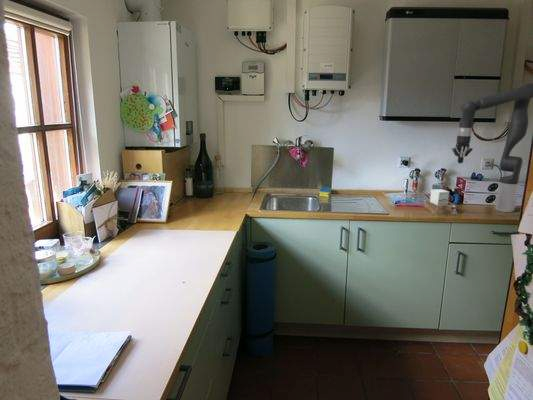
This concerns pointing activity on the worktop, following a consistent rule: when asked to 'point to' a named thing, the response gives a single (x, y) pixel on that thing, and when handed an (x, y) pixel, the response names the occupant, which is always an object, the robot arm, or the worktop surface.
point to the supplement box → (439, 197)
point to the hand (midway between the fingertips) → (459, 163)
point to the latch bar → (452, 204)
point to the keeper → (439, 208)
